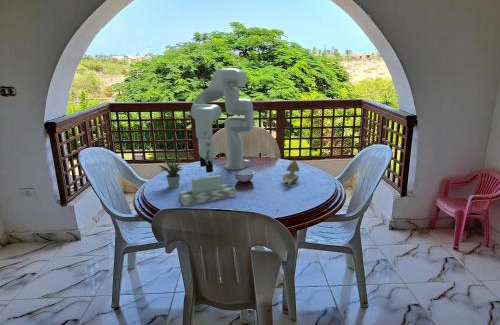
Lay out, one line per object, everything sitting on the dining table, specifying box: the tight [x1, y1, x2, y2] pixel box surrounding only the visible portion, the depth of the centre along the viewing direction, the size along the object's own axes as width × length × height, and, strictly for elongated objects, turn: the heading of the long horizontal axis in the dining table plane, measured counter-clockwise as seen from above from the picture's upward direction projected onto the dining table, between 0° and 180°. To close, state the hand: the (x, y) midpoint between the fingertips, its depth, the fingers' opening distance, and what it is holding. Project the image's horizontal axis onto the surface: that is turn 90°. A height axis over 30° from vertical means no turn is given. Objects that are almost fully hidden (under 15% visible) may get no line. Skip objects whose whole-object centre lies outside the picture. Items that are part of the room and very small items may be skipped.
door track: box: [178, 183, 237, 206], centre depth 163 cm, size 26×10×4 cm, turn 114°
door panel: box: [191, 174, 223, 194], centre depth 162 cm, size 14×2×9 cm, turn 113°
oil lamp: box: [282, 159, 300, 187], centre depth 180 cm, size 9×21×10 cm, turn 162°
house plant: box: [157, 156, 186, 189], centre depth 178 cm, size 14×14×16 cm
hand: (206, 169), depth 160 cm, fingers open, 9 cm apart
